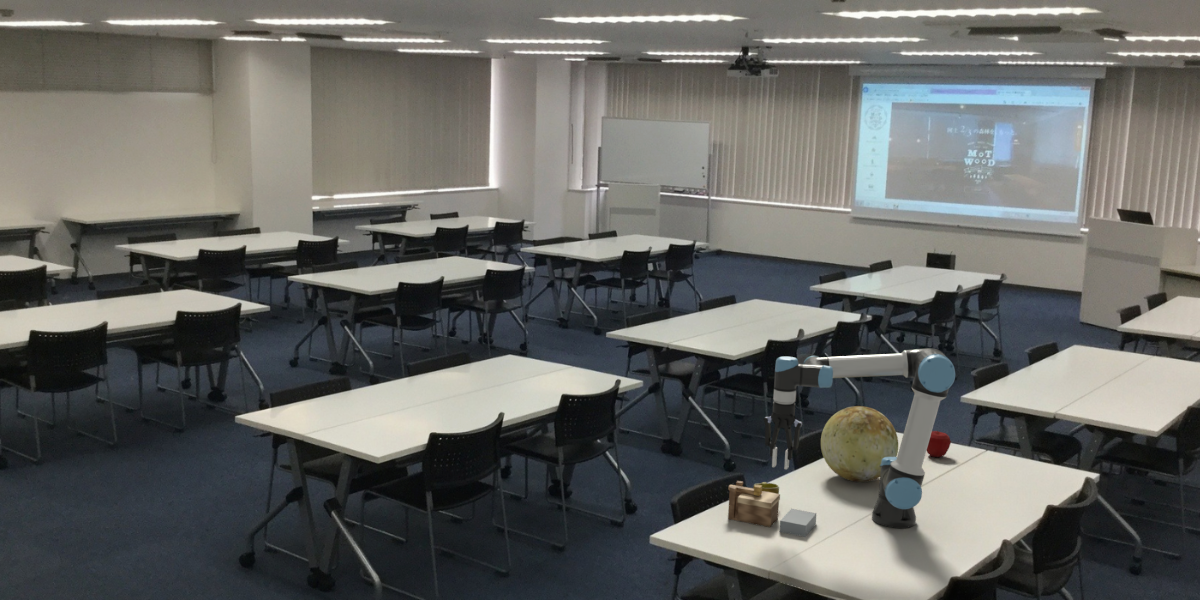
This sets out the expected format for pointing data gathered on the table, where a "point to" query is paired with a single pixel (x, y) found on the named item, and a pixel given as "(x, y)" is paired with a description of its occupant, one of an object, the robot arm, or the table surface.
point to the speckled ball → (858, 443)
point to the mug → (769, 487)
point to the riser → (798, 522)
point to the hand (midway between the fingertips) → (780, 467)
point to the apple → (938, 444)
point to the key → (749, 489)
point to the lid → (760, 499)
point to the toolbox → (750, 510)
